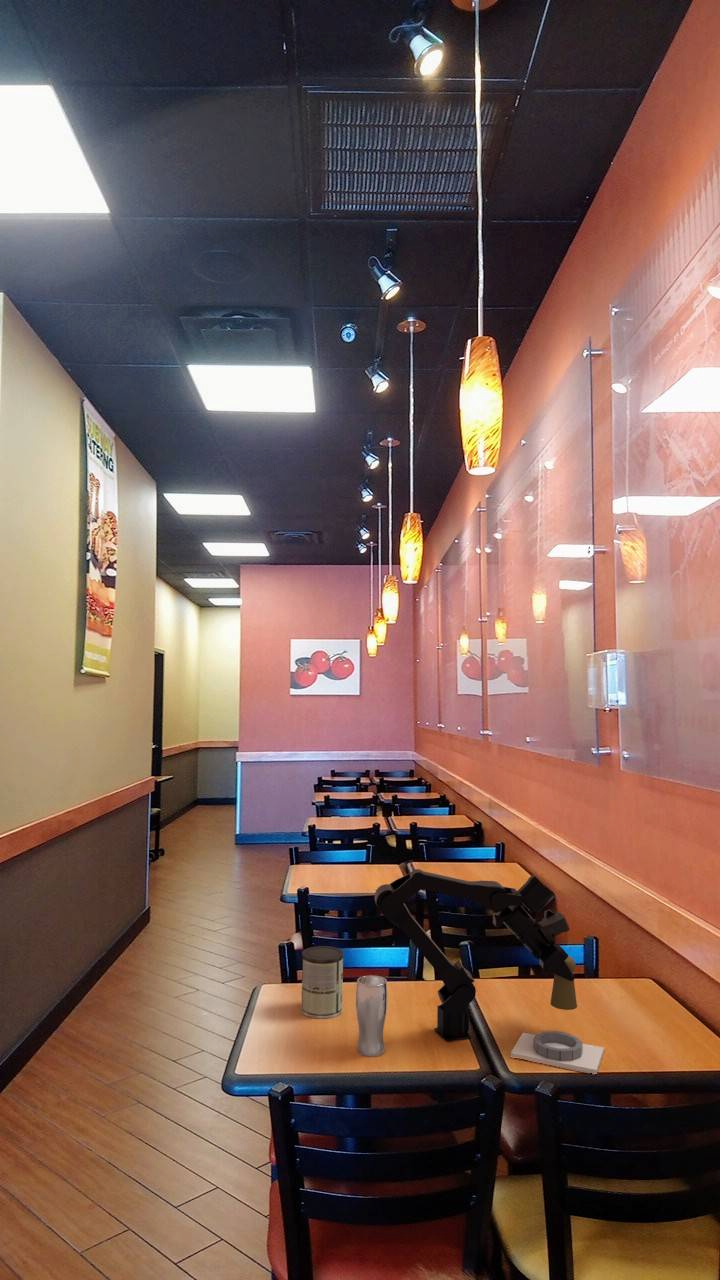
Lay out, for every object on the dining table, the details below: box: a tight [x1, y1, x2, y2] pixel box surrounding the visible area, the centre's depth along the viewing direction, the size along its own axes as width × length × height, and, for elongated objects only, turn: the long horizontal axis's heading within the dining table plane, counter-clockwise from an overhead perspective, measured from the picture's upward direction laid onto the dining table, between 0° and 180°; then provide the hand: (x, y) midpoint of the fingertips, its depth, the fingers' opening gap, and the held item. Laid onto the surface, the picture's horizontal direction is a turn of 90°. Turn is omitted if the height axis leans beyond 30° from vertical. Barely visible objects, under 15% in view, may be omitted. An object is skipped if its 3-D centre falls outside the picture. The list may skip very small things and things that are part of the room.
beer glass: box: [355, 975, 389, 1058], centre depth 177 cm, size 7×7×15 cm
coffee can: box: [300, 945, 345, 1020], centre depth 200 cm, size 10×10×14 cm
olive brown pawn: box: [550, 955, 578, 1011], centre depth 188 cm, size 6×6×11 cm
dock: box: [510, 1030, 605, 1075], centre depth 177 cm, size 18×12×3 cm, turn 66°
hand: (569, 975), depth 188 cm, fingers closed on olive brown pawn, 5 cm apart
